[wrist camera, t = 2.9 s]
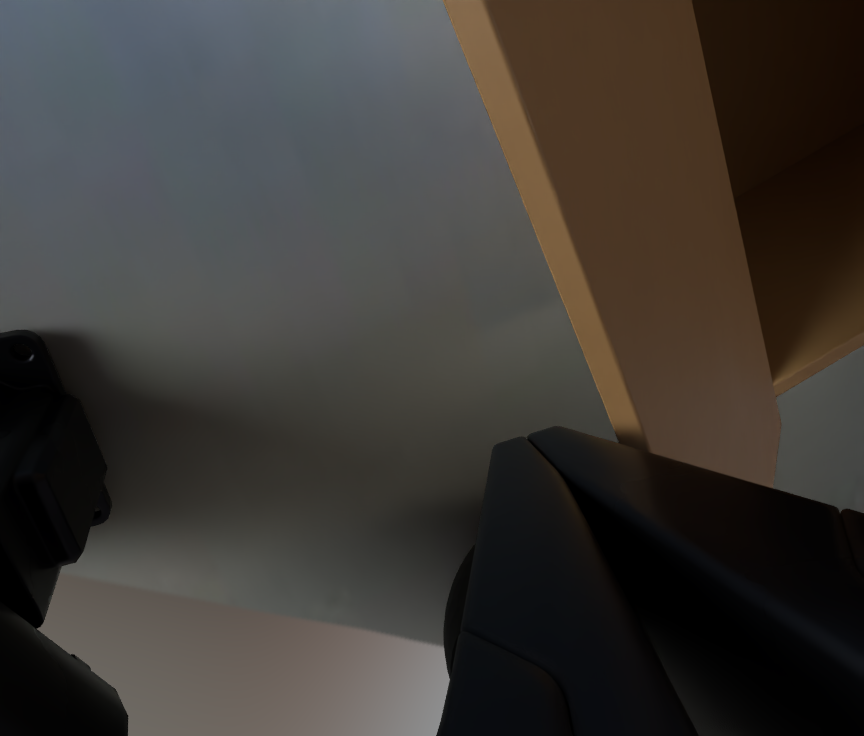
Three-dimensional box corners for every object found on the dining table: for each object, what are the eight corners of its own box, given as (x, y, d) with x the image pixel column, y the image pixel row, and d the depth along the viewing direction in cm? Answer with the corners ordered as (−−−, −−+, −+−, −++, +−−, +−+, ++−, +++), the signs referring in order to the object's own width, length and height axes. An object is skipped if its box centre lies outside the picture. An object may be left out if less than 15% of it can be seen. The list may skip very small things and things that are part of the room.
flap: (781, 424, 14) (764, 424, 14) (643, -234, 8) (616, -218, 8) (744, 704, 10) (720, 699, 10) (425, -160, 4) (385, -133, 4)
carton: (580, 292, 22) (779, 427, 14) (434, -94, 16) (636, -236, 8) (897, 107, 22) (1264, 137, 14) (869, -337, 16) (1467, -700, 8)
